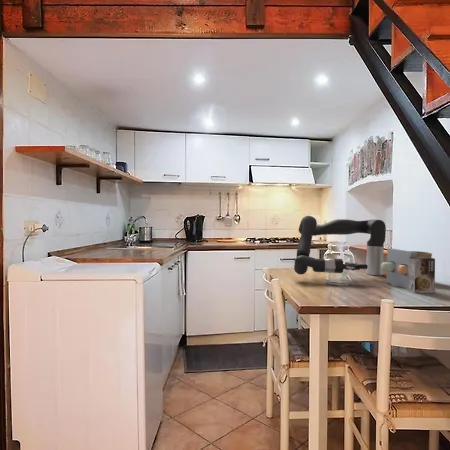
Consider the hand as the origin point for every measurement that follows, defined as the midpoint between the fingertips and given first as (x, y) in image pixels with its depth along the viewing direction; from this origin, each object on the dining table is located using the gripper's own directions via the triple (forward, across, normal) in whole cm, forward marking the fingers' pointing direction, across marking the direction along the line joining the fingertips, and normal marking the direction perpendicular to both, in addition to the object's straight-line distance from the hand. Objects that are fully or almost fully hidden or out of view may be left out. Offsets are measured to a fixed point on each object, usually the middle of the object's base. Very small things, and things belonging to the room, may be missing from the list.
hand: (367, 266), depth 182 cm
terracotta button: (+16, +9, -2) cm, 19 cm away
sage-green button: (+11, -1, -2) cm, 12 cm away
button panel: (+15, +4, -9) cm, 18 cm away
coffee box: (+20, +17, -9) cm, 28 cm away
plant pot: (+28, -10, -9) cm, 31 cm away
